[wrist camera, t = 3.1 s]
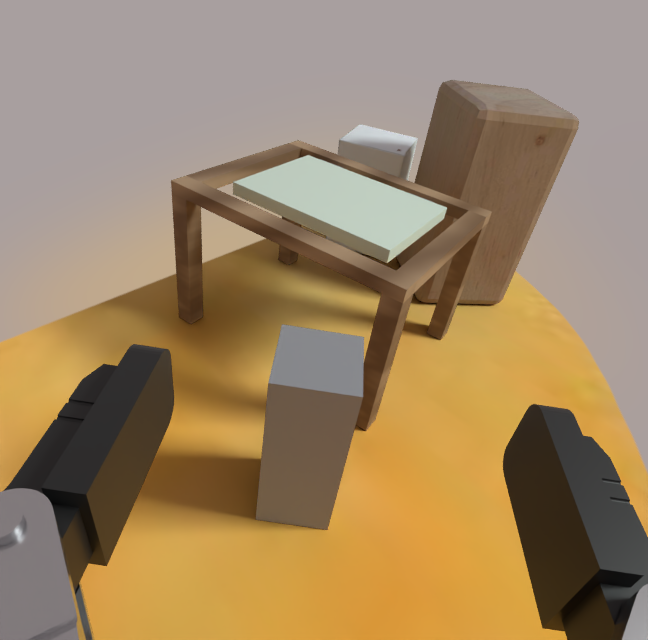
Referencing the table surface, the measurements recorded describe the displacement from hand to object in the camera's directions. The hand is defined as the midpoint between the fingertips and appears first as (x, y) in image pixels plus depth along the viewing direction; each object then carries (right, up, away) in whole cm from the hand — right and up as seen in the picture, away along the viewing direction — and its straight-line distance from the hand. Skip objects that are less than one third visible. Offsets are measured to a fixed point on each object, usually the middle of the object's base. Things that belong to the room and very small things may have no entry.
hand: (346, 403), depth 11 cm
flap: (+1, +11, +28) cm, 31 cm away
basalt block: (-2, -9, +21) cm, 23 cm away
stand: (-1, +1, +35) cm, 35 cm away
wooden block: (+13, +6, +45) cm, 47 cm away
